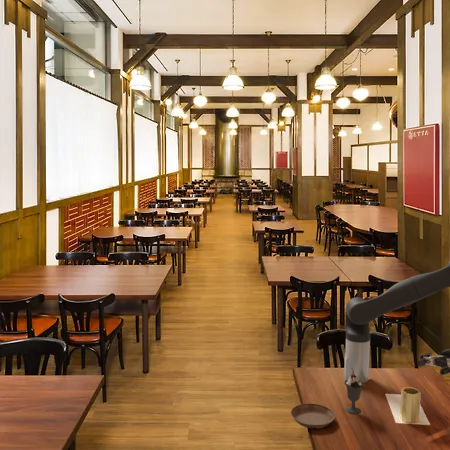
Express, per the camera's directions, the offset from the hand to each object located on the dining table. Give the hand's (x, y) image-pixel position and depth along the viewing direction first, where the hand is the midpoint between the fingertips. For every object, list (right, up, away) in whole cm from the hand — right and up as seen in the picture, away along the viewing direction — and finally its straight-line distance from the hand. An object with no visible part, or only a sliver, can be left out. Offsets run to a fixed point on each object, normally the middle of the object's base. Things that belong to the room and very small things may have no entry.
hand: (429, 367), depth 184 cm
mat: (-7, -16, +3) cm, 18 cm away
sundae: (-26, -16, +4) cm, 31 cm away
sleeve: (-8, -16, -4) cm, 19 cm away
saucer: (-41, -17, -3) cm, 45 cm away
